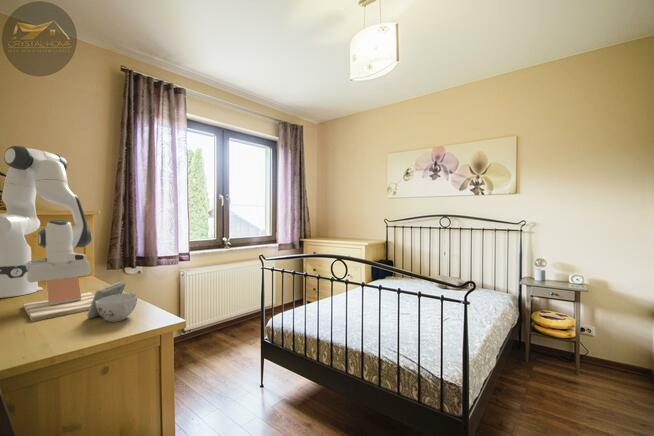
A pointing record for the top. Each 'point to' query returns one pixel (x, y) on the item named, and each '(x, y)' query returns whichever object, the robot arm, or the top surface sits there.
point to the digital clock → (102, 293)
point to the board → (57, 307)
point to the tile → (63, 290)
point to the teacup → (116, 306)
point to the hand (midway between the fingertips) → (60, 288)
